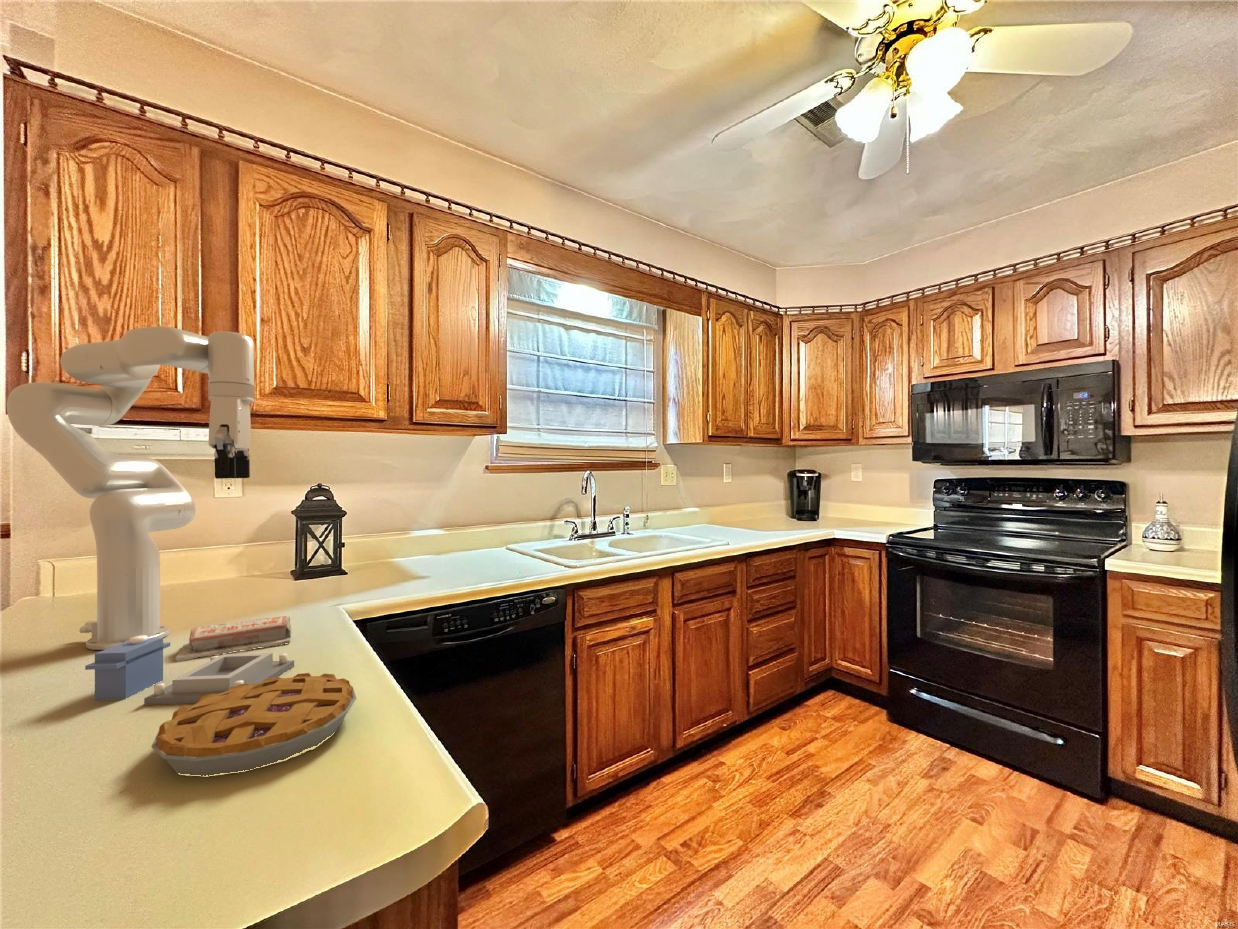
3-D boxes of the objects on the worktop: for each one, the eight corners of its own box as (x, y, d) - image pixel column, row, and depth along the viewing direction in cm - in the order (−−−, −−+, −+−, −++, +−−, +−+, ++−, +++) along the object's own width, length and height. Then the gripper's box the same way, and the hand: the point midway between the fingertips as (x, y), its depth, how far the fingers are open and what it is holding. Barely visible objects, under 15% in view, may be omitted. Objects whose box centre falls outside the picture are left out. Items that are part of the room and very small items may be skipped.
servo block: (85, 705, 77) (85, 651, 77) (142, 678, 87) (142, 631, 87) (116, 703, 77) (116, 650, 77) (170, 677, 87) (170, 630, 87)
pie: (114, 809, 53) (114, 760, 53) (191, 717, 73) (191, 682, 73) (350, 759, 62) (350, 718, 62) (361, 689, 82) (361, 658, 82)
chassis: (144, 705, 77) (144, 684, 77) (212, 668, 91) (212, 651, 91) (241, 701, 78) (241, 681, 78) (294, 666, 92) (294, 649, 92)
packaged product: (291, 611, 112) (290, 622, 104) (291, 633, 112) (290, 646, 104) (185, 624, 103) (174, 638, 94) (185, 648, 103) (174, 664, 94)
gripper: (223, 399, 111) (224, 478, 110) (192, 386, 95) (193, 479, 94) (264, 400, 113) (266, 477, 113) (241, 388, 98) (242, 478, 97)
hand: (233, 478), depth 104 cm, fingers open, 9 cm apart
